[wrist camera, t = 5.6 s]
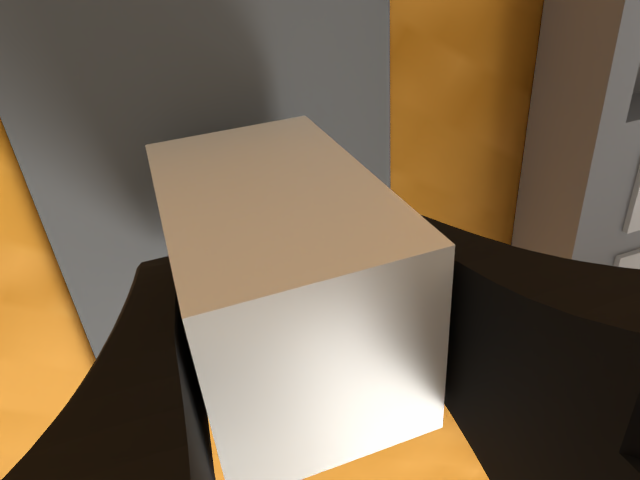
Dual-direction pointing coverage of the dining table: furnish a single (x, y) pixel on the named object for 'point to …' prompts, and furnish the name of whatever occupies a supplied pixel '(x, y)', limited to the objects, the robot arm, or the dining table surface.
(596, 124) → the power strip
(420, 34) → the dining table surface
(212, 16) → the rubber mat
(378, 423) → the plug
